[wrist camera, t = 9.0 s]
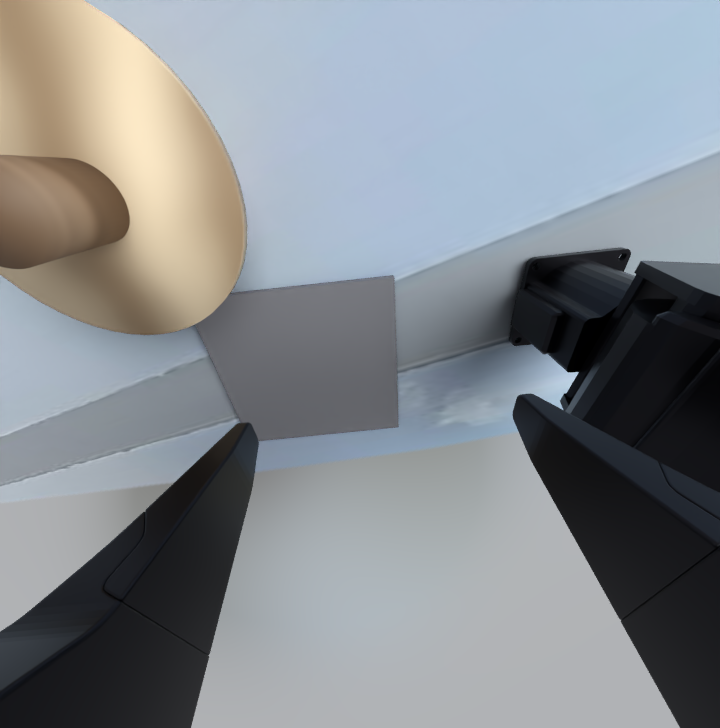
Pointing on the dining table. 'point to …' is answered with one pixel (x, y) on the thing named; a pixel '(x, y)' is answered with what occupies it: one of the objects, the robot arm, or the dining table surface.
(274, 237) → the dining table surface
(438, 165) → the dining table surface
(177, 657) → the robot arm
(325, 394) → the rubber mat
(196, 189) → the oak lid
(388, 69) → the dining table surface
